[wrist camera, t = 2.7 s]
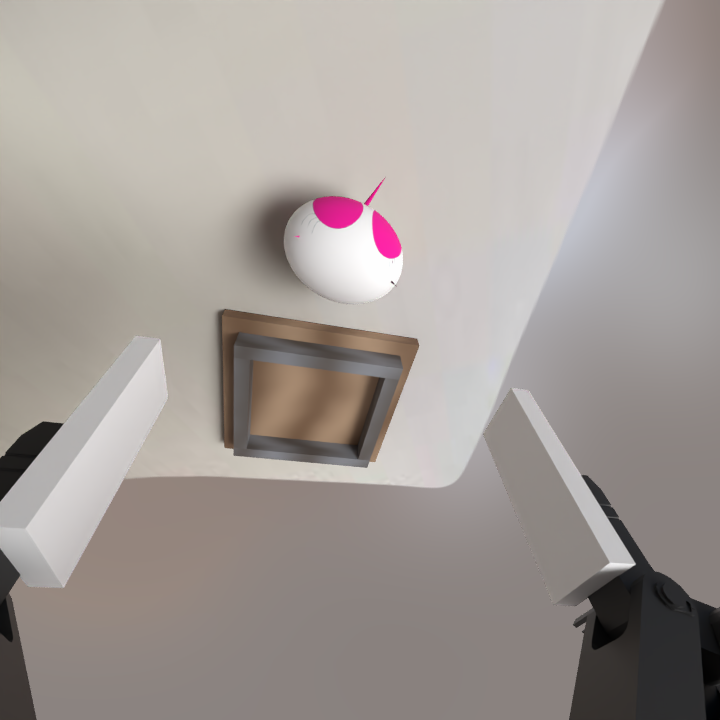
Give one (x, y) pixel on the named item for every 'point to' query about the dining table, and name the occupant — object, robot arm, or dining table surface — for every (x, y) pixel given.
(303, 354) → the cradle
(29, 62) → the dining table surface
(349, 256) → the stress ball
